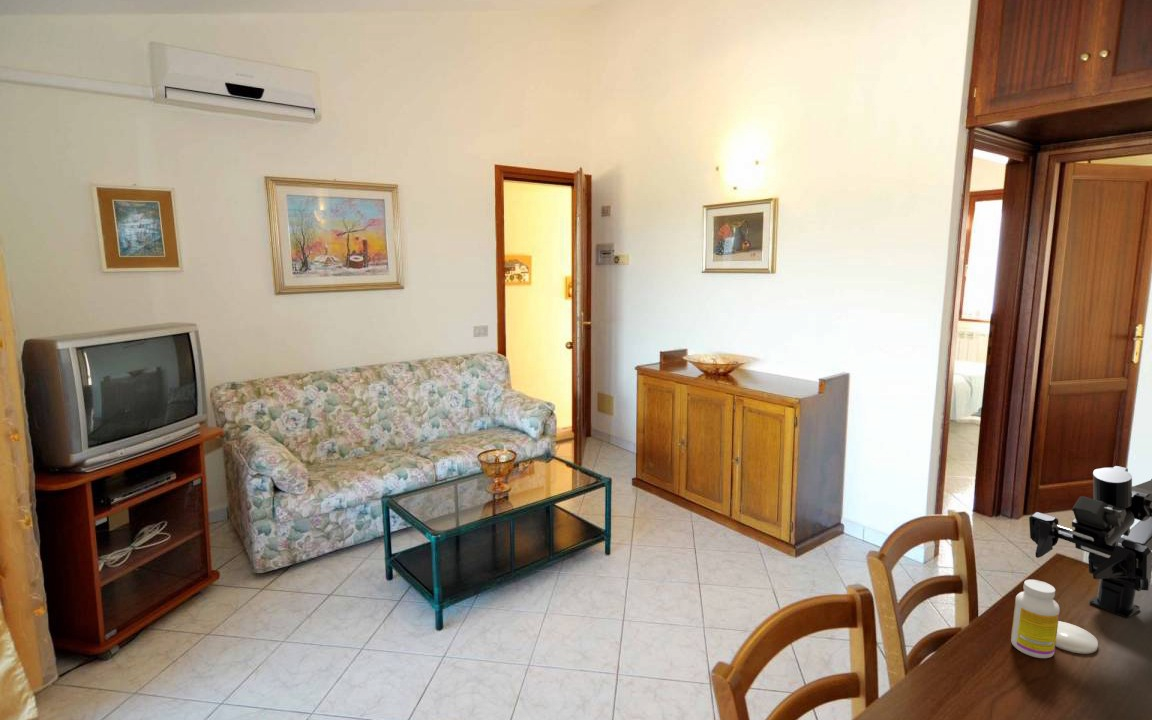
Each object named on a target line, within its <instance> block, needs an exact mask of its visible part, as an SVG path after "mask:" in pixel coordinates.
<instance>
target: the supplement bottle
mask: <svg viewBox="0 0 1152 720" xmlns="http://www.w3.org/2000/svg"><path fill="white" fill-rule="evenodd" d="M1022 588H1023V591H1020V592H1019V593H1017V595H1016V596H1015V600H1014V601H1015V603H1014V611H1013V619H1012V627H1011V636H1010V637H1011V638H1010V641H1011V644H1012V646H1013V647H1014V648H1015V649H1017V650H1018V651H1020V652H1021V653H1022V654H1025V655H1027V656H1030V657H1033V658H1038V659H1048V658H1051V657H1053V656H1054V654H1055V650H1056V646H1055V644H1056V636H1057V628H1058V621H1060V620H1059V619H1060V610H1061V609H1060V605H1059V603H1057V601H1056V600H1055V599H1054V598H1055V596H1056V588H1055V587H1054V586H1053V585H1052V584H1049V583H1048V582H1045V581H1041V580H1038V579H1026V580H1025V581H1024V583H1023V587H1022Z"/></svg>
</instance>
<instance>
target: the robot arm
mask: <svg viewBox="0 0 1152 720" xmlns="http://www.w3.org/2000/svg"><path fill="white" fill-rule="evenodd" d="M1128 470H1129V468H1128V467H1124V466H1123V467H1122V466H1118V465H1114V466H1113V467H1101V468H1096V469H1094V470H1093V472H1092V477H1093V478H1092V480H1093V481H1092V482H1093V486H1092V489H1093V498H1090V497H1086V496H1079V498H1077V501H1076V502H1075V503H1074V505H1073V507H1072V508H1071V510H1072V512H1073V515H1074V519H1073V520H1072V521H1071V527H1073V528H1074V529H1070V528H1069V527H1064V526H1061V525H1059V519H1058V518H1056V517H1054V516H1051V515H1049V514H1045V513H1042V512H1039V511H1036V512H1033V513H1032V514H1031V515H1030V516H1029V517H1028V521H1029V523H1028V524H1029V538H1030V540H1031V541H1033V543H1035V544H1036V550H1035V552H1034V553H1035V557H1036V558H1037V559H1039V558H1041V557H1043V556H1044V555H1046V554H1047V553H1049V552H1050V551H1052V550H1053V547H1054V546H1056V545H1057V544H1058V541H1059V539H1061V540H1064V541H1067V542H1070V543H1072V544H1075V549H1078V550H1081V551H1084V552H1087V553H1088V557H1087V558H1088V572H1089V574H1091V575H1092V579H1093V580H1099V582H1098V584H1099V585H1098V589H1097V595H1096V596H1095V597H1093V598H1091V599H1090V600H1089V604H1091V605H1093V606H1095V607H1099V608H1100V609H1103V610H1106V611H1109V612H1111V613H1113V614H1116V615H1118V616H1121V617H1124V618H1125V619H1126V618H1127V619H1128V618H1130V617H1132V616H1133V615H1135V614H1136V613H1137V612H1139V611H1140V610H1141V607H1140V605H1136V604H1135V597H1136V592H1137V591H1138V592H1140V591H1149V590H1150V587H1151V585H1150V584H1151V582H1152V580H1151V579H1152V478H1151V479H1150V480H1148V481H1144V482H1142V483H1139V484H1136V485H1134V486H1133V476H1132V474H1131V473H1130V472H1129V471H1128ZM1136 520H1137V521H1138V522H1136V524H1135V525H1134V523H1135V521H1136ZM1132 526H1133V527H1132Z"/></svg>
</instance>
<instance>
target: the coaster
mask: <svg viewBox="0 0 1152 720" xmlns="http://www.w3.org/2000/svg"><path fill="white" fill-rule="evenodd" d="M1098 646H1099V641H1098V639H1097V638H1096V636H1094V635H1093V634H1092V633H1091V632H1090V631H1087V630H1086V629H1084V628H1082V627H1079V626H1077V625H1075V624H1072V623H1069V622H1065V621H1061V620H1058V628H1057V636H1056V644H1055V648H1058V649H1061V650H1064V651H1068V652H1071V653H1076V654H1083V655H1084V654H1085V655H1087V654H1088V655H1089V654H1094V653H1095V652H1097V650H1098Z"/></svg>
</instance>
